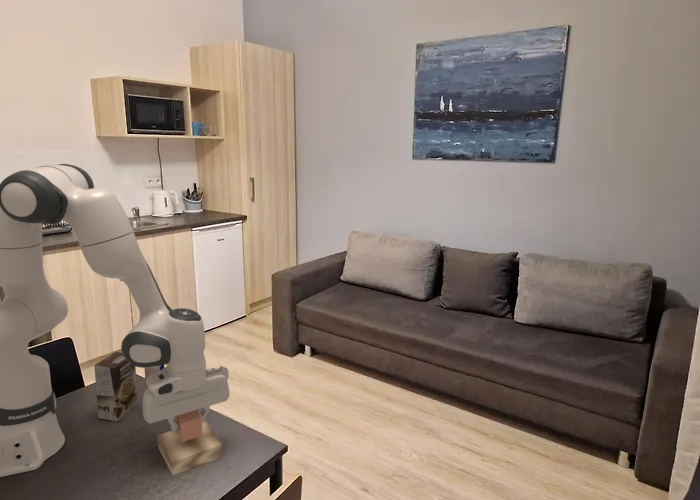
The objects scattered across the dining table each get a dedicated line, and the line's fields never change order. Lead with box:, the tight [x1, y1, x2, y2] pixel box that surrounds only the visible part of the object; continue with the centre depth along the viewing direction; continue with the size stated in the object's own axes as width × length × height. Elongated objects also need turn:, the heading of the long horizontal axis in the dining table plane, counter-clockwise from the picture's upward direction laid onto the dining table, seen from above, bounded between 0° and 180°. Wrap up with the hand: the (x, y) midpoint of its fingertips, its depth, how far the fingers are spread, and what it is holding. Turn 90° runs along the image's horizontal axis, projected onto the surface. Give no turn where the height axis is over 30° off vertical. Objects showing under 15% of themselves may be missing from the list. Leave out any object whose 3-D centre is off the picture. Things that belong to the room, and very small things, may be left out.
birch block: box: [157, 421, 223, 476], centre depth 118 cm, size 12×12×4 cm
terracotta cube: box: [174, 410, 202, 442], centre depth 117 cm, size 5×5×5 cm
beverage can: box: [144, 365, 165, 390], centre depth 134 cm, size 5×5×15 cm
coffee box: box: [94, 351, 139, 422], centre depth 132 cm, size 9×6×16 cm
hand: (188, 425), depth 117 cm, fingers closed on terracotta cube, 5 cm apart
